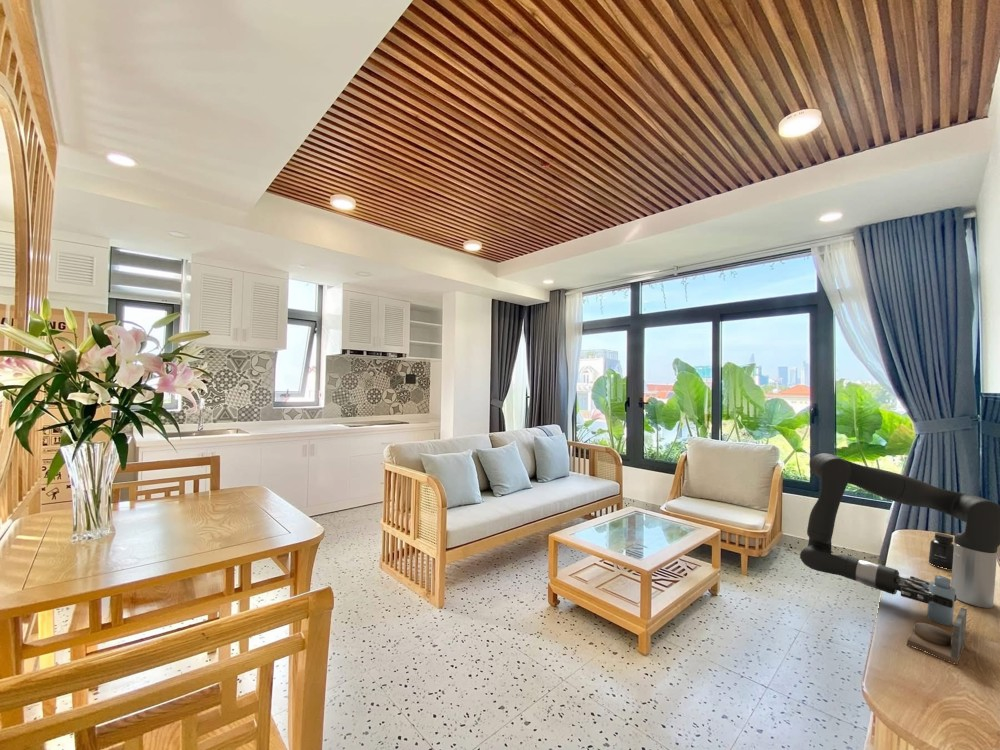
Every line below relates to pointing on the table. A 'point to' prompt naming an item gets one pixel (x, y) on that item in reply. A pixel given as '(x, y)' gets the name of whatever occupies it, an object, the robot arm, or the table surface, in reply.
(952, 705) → the table surface
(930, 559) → the supplement bottle
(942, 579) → the blue grey bottle
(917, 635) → the display stand
